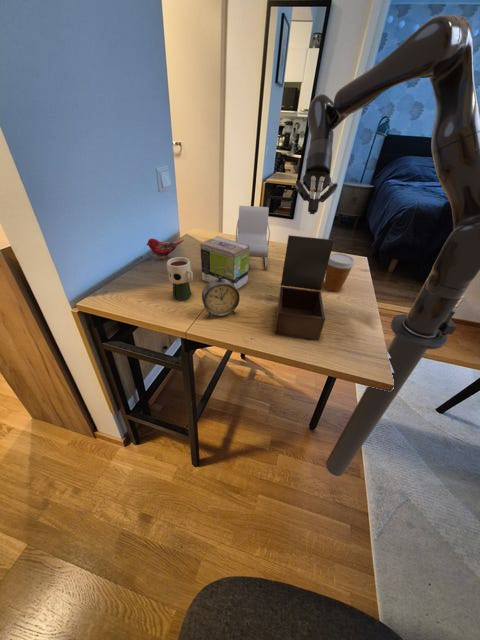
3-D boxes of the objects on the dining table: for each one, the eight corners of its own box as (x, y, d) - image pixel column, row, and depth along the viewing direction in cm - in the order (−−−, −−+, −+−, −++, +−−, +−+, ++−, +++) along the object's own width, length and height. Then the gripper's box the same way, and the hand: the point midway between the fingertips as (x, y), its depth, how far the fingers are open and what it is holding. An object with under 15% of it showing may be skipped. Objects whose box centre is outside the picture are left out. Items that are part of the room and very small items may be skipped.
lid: (334, 240, 72) (333, 239, 73) (288, 235, 73) (288, 235, 74) (321, 290, 80) (321, 289, 81) (280, 285, 82) (280, 284, 82)
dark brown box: (318, 340, 74) (325, 319, 70) (274, 334, 76) (278, 312, 71) (315, 311, 86) (320, 291, 81) (277, 306, 87) (280, 286, 82)
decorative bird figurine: (147, 262, 109) (143, 238, 103) (183, 252, 119) (181, 230, 113) (151, 264, 107) (146, 241, 101) (187, 254, 117) (185, 232, 111)
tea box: (248, 282, 99) (251, 244, 90) (233, 293, 93) (234, 253, 84) (217, 270, 106) (217, 234, 97) (201, 280, 99) (199, 242, 90)
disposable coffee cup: (323, 279, 104) (331, 250, 97) (348, 286, 100) (358, 257, 93) (316, 289, 97) (324, 259, 90) (342, 297, 94) (352, 266, 86)
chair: (264, 248, 126) (269, 205, 114) (266, 272, 107) (272, 223, 95) (237, 246, 126) (238, 204, 114) (234, 270, 107) (235, 221, 95)
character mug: (163, 295, 89) (157, 260, 81) (177, 287, 94) (173, 253, 86) (187, 306, 85) (183, 270, 77) (201, 297, 90) (199, 262, 82)
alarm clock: (204, 321, 79) (202, 273, 69) (201, 311, 83) (199, 264, 73) (239, 316, 82) (241, 269, 72) (234, 307, 86) (236, 261, 76)
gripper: (298, 149, 77) (291, 203, 75) (344, 152, 75) (338, 207, 73) (295, 167, 84) (289, 217, 82) (337, 170, 83) (331, 221, 81)
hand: (312, 212), depth 78 cm, fingers closed
